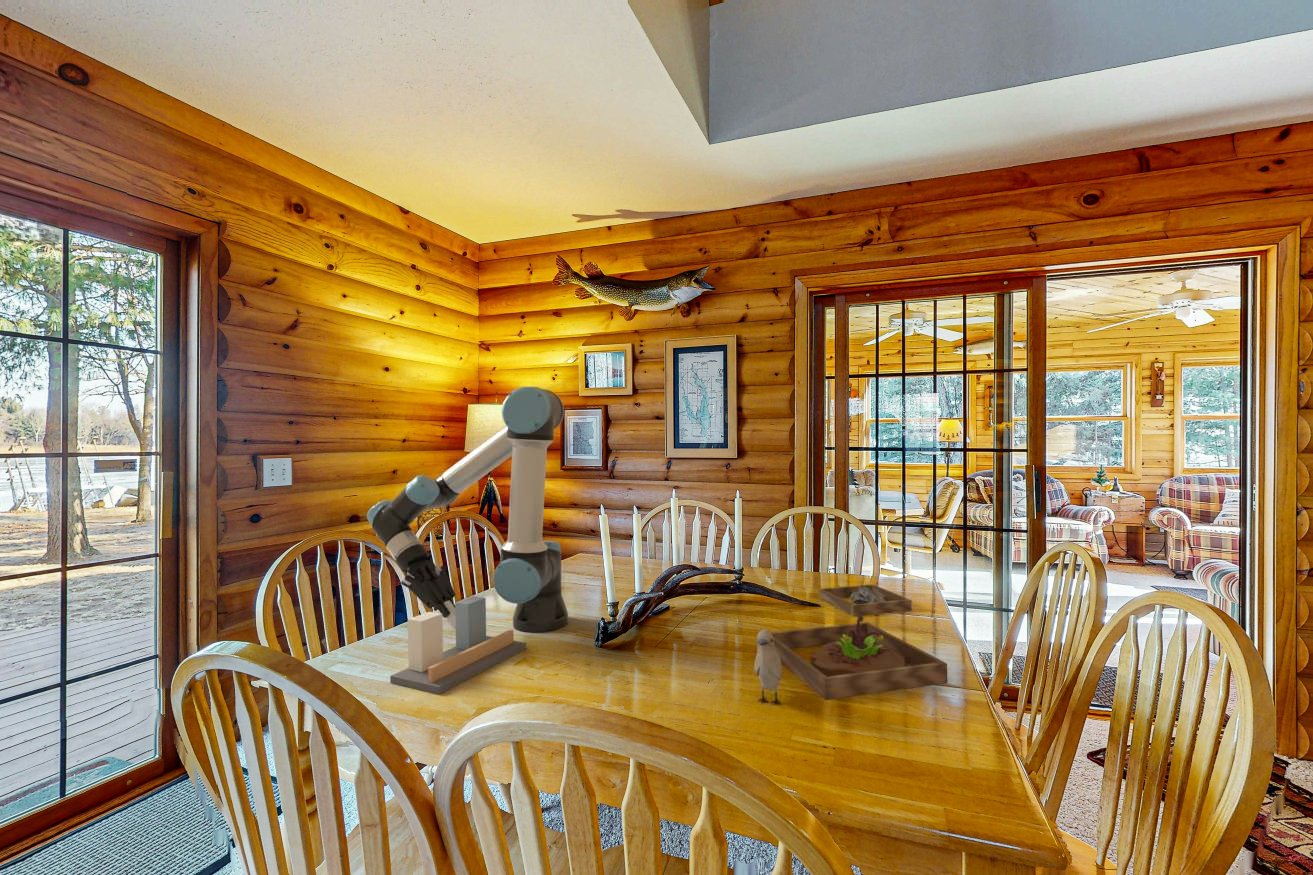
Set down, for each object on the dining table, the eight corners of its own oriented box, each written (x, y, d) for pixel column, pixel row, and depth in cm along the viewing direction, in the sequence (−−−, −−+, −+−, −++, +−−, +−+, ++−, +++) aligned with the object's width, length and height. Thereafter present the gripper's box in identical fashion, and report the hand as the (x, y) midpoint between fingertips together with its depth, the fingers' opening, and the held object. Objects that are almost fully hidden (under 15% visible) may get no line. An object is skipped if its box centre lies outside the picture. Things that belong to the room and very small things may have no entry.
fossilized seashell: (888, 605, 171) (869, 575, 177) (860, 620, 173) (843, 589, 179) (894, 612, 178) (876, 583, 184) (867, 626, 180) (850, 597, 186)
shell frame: (872, 593, 191) (872, 584, 191) (911, 610, 172) (911, 600, 172) (818, 598, 186) (818, 588, 186) (853, 616, 168) (853, 605, 167)
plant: (916, 661, 135) (915, 612, 135) (897, 694, 119) (897, 638, 119) (828, 645, 146) (828, 600, 146) (801, 672, 130) (800, 621, 130)
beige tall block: (408, 669, 130) (407, 619, 130) (430, 659, 136) (429, 611, 135) (422, 672, 128) (421, 621, 128) (443, 662, 134) (442, 613, 134)
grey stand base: (390, 682, 127) (390, 661, 127) (482, 640, 152) (481, 623, 152) (439, 694, 121) (438, 672, 121) (526, 648, 146) (525, 630, 146)
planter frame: (867, 637, 150) (867, 622, 150) (947, 682, 123) (947, 663, 123) (764, 649, 143) (764, 632, 143) (825, 699, 116) (825, 679, 116)
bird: (748, 715, 110) (747, 634, 110) (763, 686, 122) (762, 613, 122) (775, 720, 108) (774, 637, 108) (787, 689, 121) (786, 616, 120)
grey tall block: (456, 648, 143) (455, 602, 143) (473, 640, 148) (473, 596, 148) (468, 650, 141) (467, 604, 141) (486, 642, 146) (485, 597, 146)
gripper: (421, 557, 160) (469, 626, 153) (380, 567, 149) (430, 642, 142) (435, 538, 158) (485, 608, 151) (394, 547, 146) (446, 623, 139)
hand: (458, 624), depth 146 cm, fingers closed
